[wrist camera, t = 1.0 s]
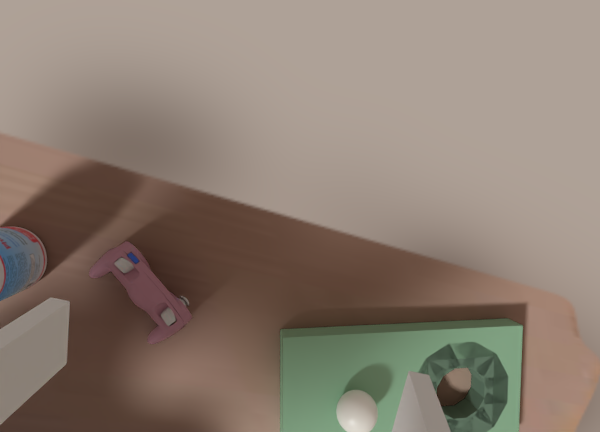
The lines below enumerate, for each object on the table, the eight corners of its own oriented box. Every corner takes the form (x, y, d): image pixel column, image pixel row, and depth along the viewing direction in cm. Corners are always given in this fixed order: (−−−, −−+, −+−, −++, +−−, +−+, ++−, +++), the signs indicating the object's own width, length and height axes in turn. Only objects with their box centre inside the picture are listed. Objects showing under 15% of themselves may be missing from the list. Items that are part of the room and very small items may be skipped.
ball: (369, 419, 42) (383, 442, 38) (331, 422, 42) (341, 446, 38) (370, 381, 42) (384, 401, 38) (332, 383, 41) (342, 404, 37)
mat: (280, 458, 44) (282, 474, 41) (280, 329, 43) (282, 337, 40) (503, 437, 48) (518, 450, 45) (507, 318, 47) (522, 325, 44)
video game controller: (187, 315, 43) (207, 314, 37) (151, 348, 40) (166, 352, 34) (124, 241, 41) (134, 228, 35) (83, 271, 39) (86, 262, 33)
